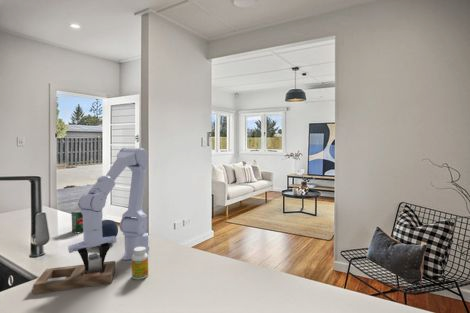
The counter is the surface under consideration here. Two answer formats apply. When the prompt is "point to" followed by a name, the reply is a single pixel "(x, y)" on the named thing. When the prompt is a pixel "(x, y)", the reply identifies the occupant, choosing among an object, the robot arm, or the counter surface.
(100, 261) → the plug
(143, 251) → the supplement bottle
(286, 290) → the counter surface
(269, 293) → the counter surface
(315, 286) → the counter surface
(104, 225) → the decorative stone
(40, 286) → the socket board
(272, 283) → the counter surface
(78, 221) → the canned tomato
